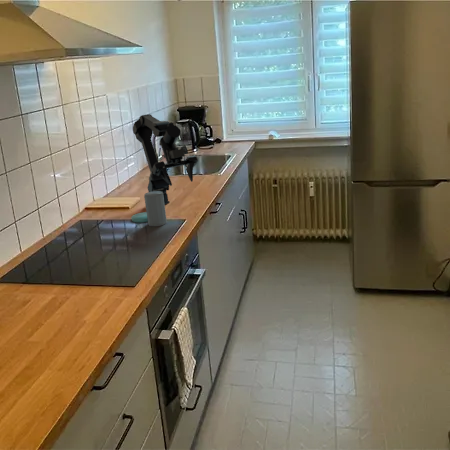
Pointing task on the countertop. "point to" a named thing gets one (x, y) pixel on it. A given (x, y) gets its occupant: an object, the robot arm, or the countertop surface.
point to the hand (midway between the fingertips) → (181, 183)
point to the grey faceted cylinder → (155, 208)
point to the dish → (140, 217)
